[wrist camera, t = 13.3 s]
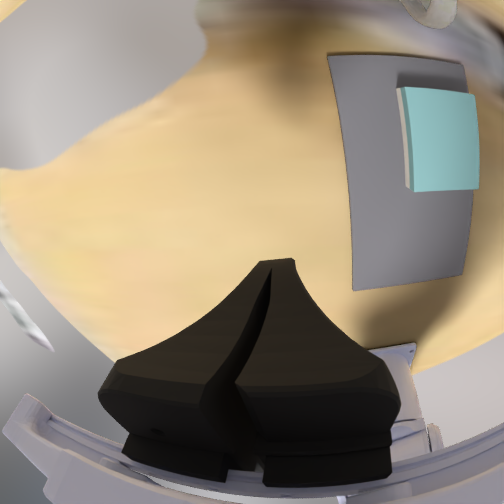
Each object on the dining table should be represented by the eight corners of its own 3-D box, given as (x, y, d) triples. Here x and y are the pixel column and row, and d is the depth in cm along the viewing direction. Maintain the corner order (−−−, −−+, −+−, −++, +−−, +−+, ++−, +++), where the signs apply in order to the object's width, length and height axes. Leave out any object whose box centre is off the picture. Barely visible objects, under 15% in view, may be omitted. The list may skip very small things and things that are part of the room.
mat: (460, 272, 19) (461, 274, 19) (352, 288, 22) (353, 291, 21) (460, 65, 11) (463, 65, 11) (327, 57, 14) (327, 56, 13)
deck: (405, 186, 17) (468, 183, 15) (414, 192, 15) (478, 189, 14) (396, 88, 14) (463, 94, 12) (404, 86, 12) (474, 94, 11)
